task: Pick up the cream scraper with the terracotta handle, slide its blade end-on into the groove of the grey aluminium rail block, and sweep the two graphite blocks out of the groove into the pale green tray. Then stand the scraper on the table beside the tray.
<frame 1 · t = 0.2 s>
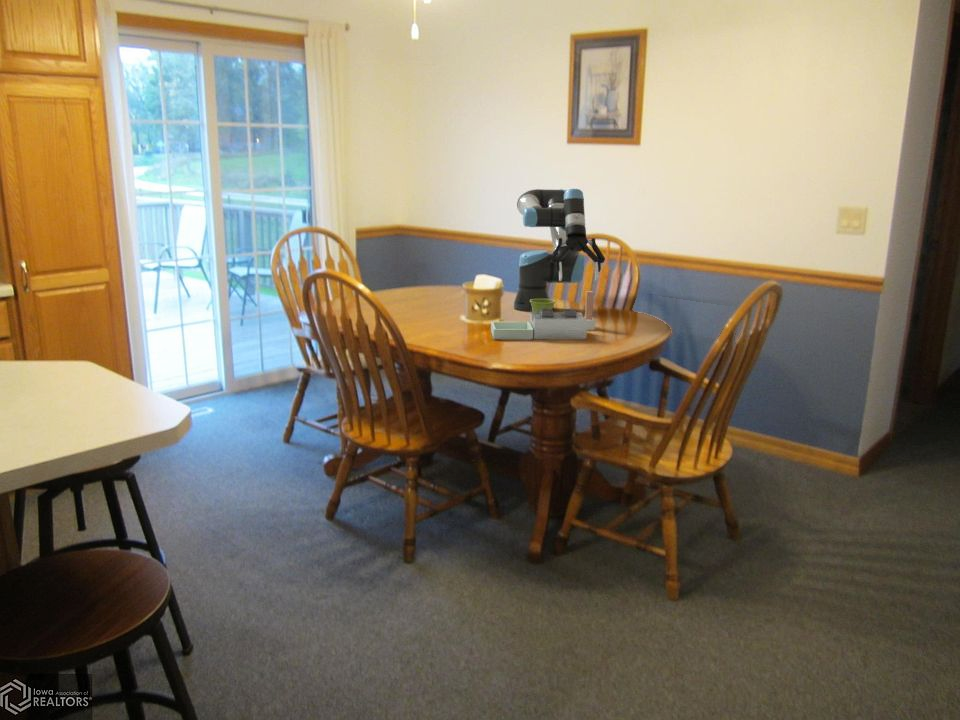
hand: (579, 279, 297), 16 cm above the table, tool tilted 35°, fingers open, 13 cm apart
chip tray: (511, 335, 279), on the table
chip 1: (569, 321, 279), point 5 cm above the table, touching slot block
chip 2: (546, 321, 279), point 5 cm above the table, touching slot block
scraper: (588, 328, 293), on the table
plant pot: (541, 324, 300), on the table
slot block: (557, 335, 280), on the table
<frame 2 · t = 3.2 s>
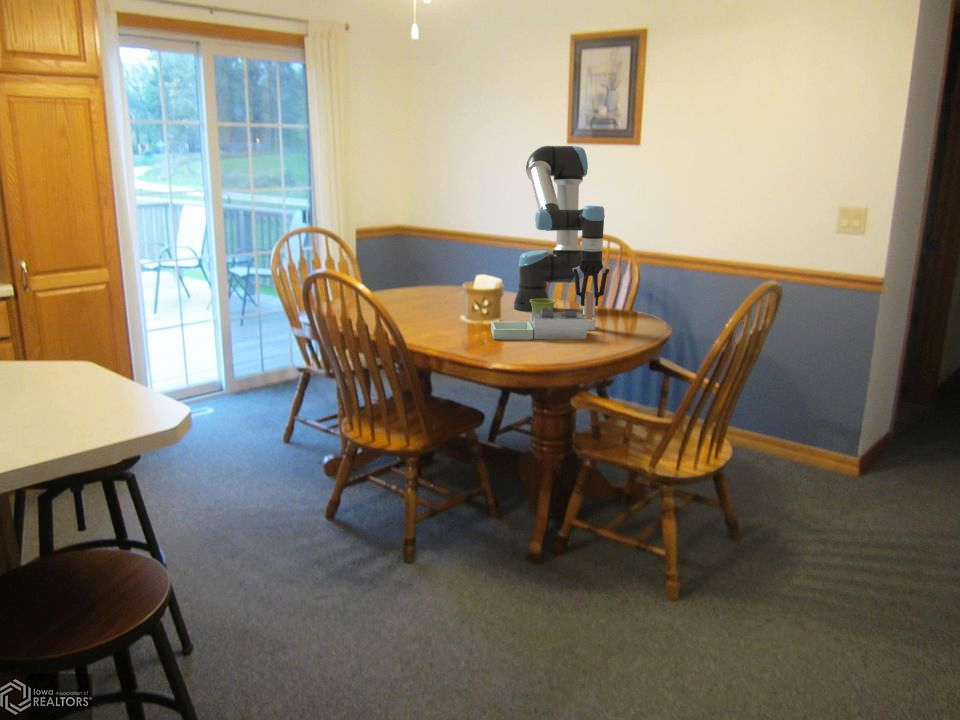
hand: (588, 314, 291), 5 cm above the table, tool pointing down, fingers closed on scraper, 2 cm apart
scraper: (588, 328, 293), on the table, touching gripper
everything else where it was.
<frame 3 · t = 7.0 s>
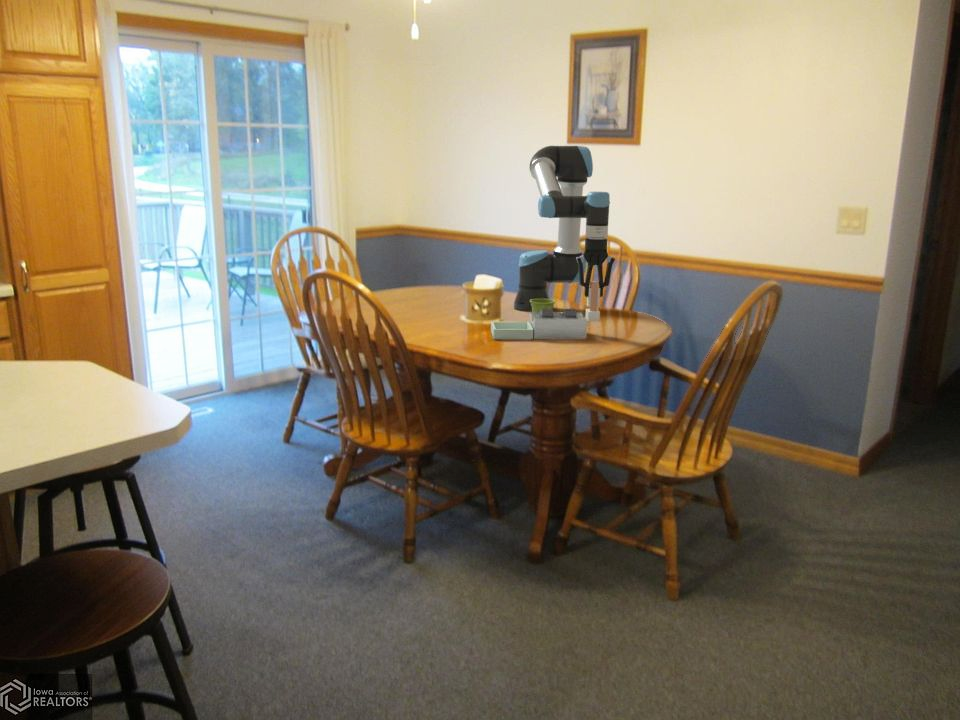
hand: (593, 305, 278), 11 cm above the table, tool pointing down, fingers closed on scraper, 2 cm apart
scraper: (592, 320, 280), point 5 cm above the table, touching gripper
everything else where it was.
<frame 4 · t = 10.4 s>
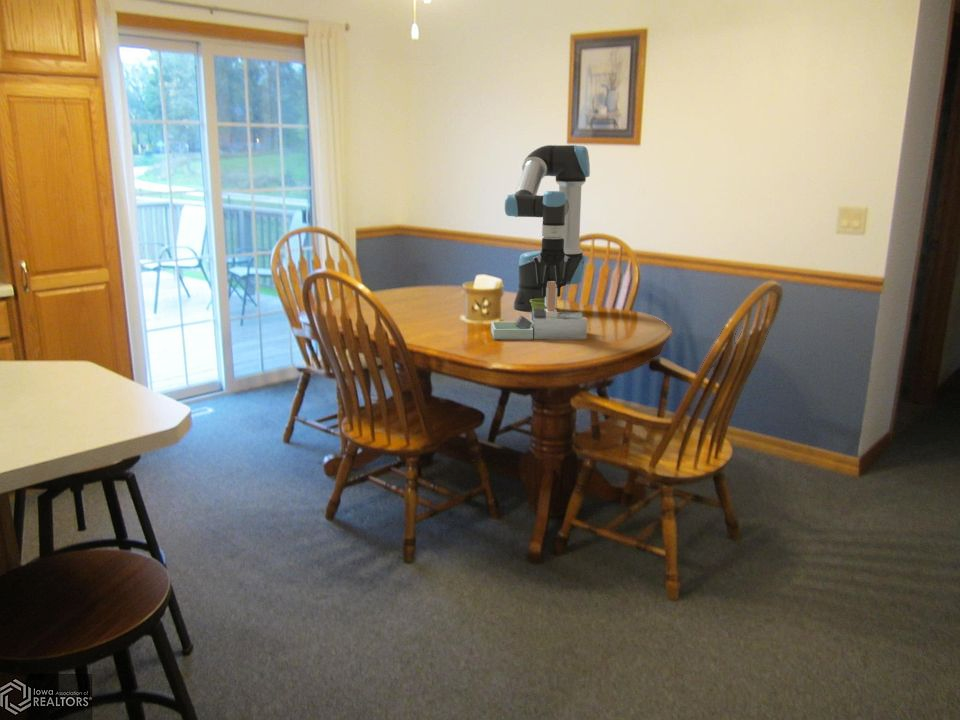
hand: (550, 305, 278), 10 cm above the table, tool pointing down, fingers closed on scraper, 2 cm apart
chip 1: (538, 321, 278), point 5 cm above the table, touching slot block
chip 2: (527, 326, 279), point 3 cm above the table, tilted 57°, touching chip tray
scraper: (550, 320, 279), point 5 cm above the table, touching gripper
everything else where it was.
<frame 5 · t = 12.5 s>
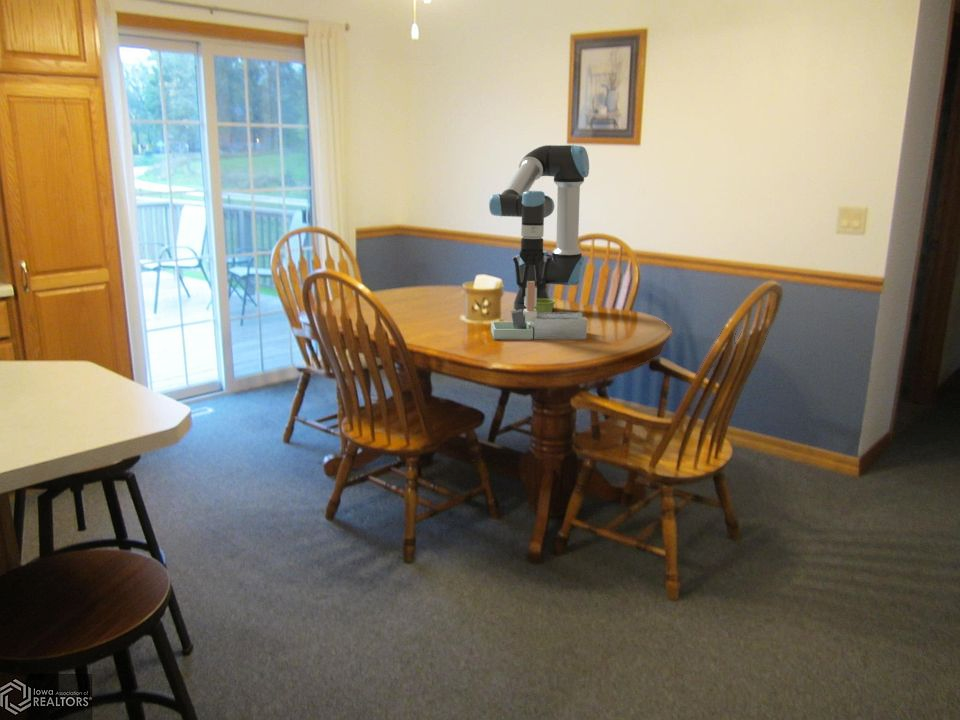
hand: (530, 305, 277), 10 cm above the table, tool pointing down, fingers closed on scraper, 2 cm apart
chip 1: (518, 322, 278), point 5 cm above the table, tilted 12°, touching chip 2, scraper
chip 2: (525, 326, 278), point 3 cm above the table, tilted 102°, touching chip 1, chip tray
scraper: (529, 320, 278), point 5 cm above the table, touching chip 1, gripper
everything else where it was.
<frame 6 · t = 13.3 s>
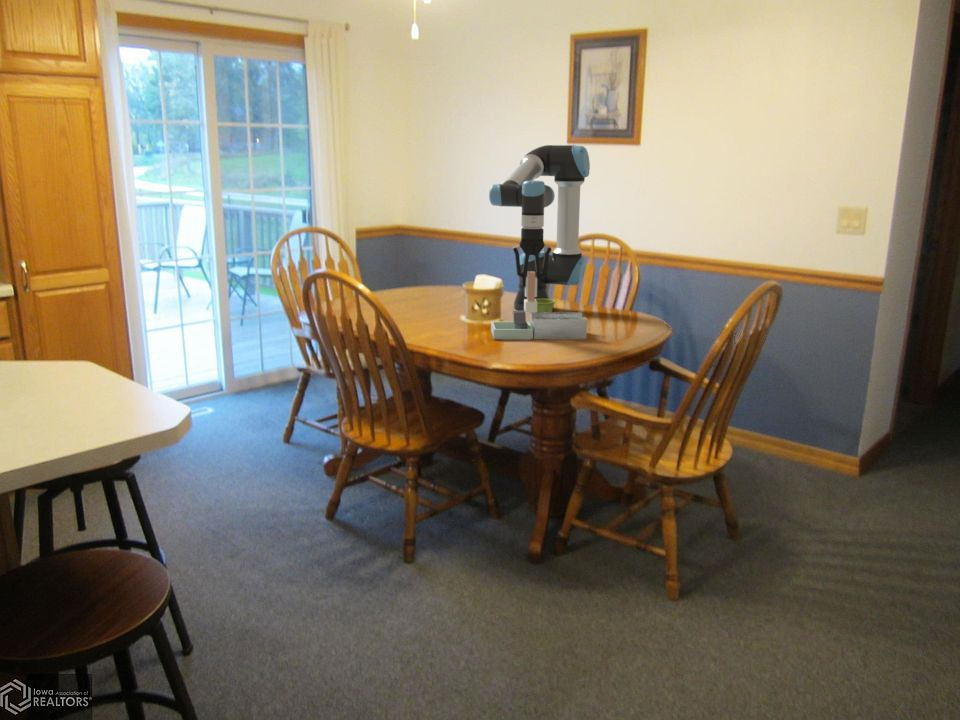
hand: (530, 296, 277), 14 cm above the table, tool pointing down, fingers closed on scraper, 2 cm apart
chip 1: (519, 322, 278), point 5 cm above the table, touching chip 2
chip 2: (527, 328, 279), point 2 cm above the table, tilted 90°, touching chip 1, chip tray
scraper: (530, 310, 278), point 9 cm above the table, touching gripper
everything else where it was.
when the fingers open (7 cm above the table, at t = 17.9 s): scraper drops 1 cm, on the table.
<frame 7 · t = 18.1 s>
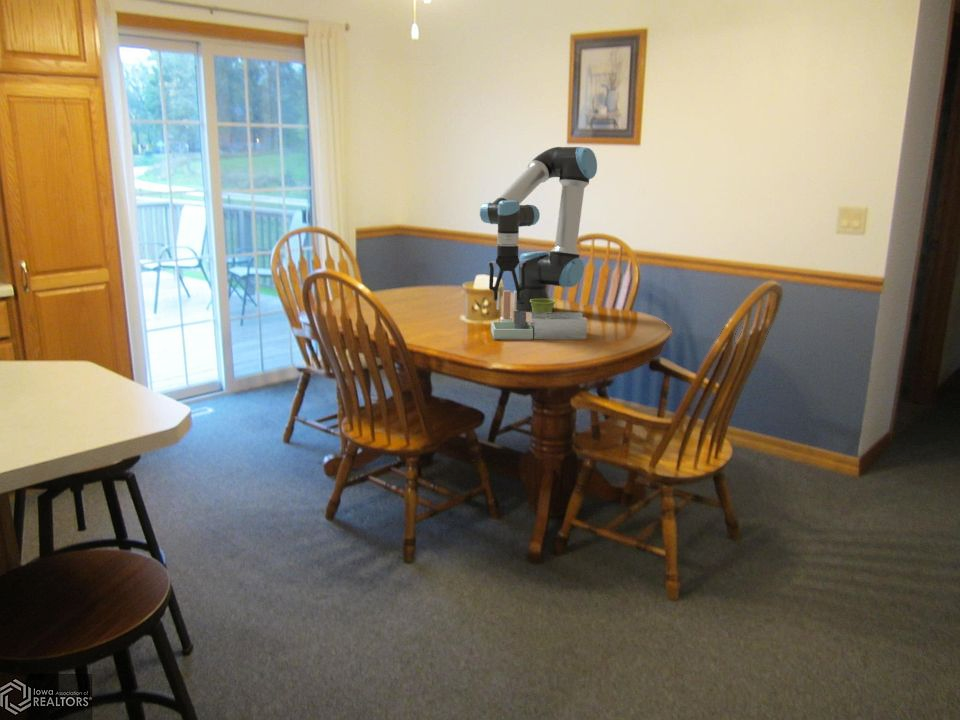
hand: (506, 309, 290), 7 cm above the table, tool pointing down, fingers open, 5 cm apart
scraper: (506, 327, 292), on the table
everything else where it was.
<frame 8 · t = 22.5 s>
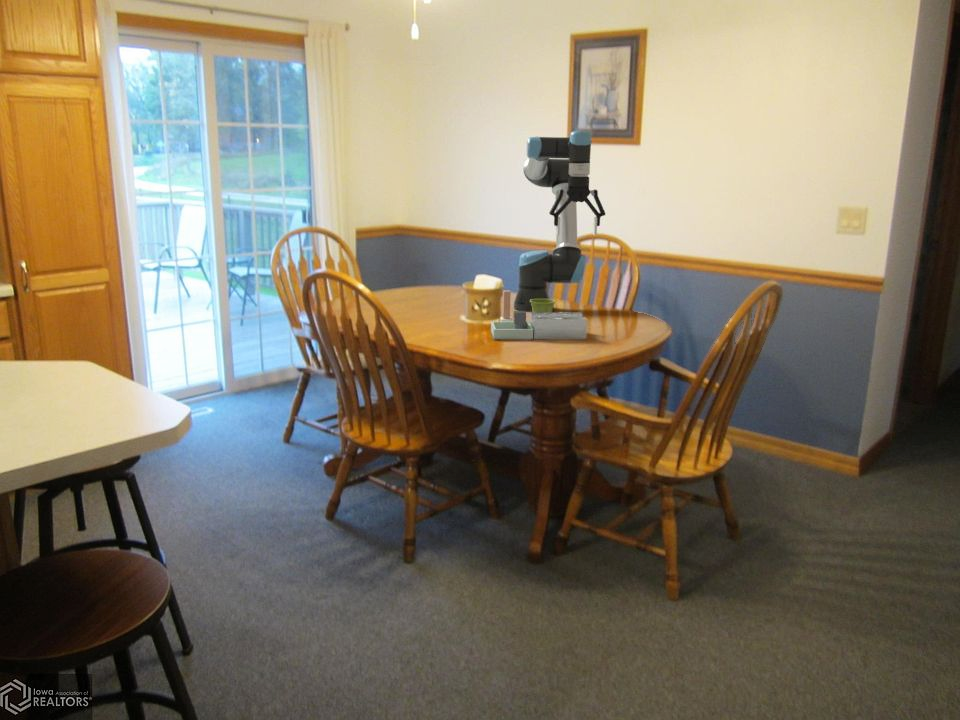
hand: (576, 235, 294), 33 cm above the table, tool pointing down, fingers open, 13 cm apart
nothing on the table moved.
at the end: chip 1 inside the target area on the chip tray (2.7 cm from its centre), point 4.4 cm above the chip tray's base; chip 2 inside the target area on the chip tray (5.4 cm from its centre), point 2.4 cm above the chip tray's base; scraper inside the target area (0.0 cm from its centre), on the table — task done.
